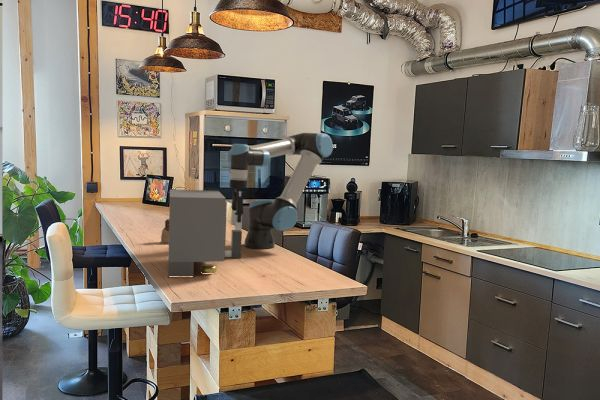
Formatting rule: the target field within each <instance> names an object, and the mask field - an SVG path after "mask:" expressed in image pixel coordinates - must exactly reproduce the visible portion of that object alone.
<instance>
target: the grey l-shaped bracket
mask: <svg viewBox="0 0 600 400" xmlns="http://www.w3.org/2000/svg"><path fill="white" fill-rule="evenodd" d="M242 234H243V231H242V230H235V229H231V238H230V250H226V249H225V257H232V258H231V259H242V239H243V236H242Z"/></svg>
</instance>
